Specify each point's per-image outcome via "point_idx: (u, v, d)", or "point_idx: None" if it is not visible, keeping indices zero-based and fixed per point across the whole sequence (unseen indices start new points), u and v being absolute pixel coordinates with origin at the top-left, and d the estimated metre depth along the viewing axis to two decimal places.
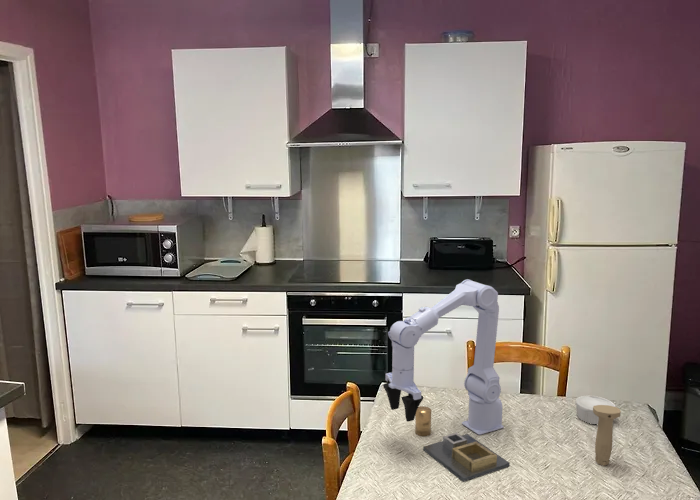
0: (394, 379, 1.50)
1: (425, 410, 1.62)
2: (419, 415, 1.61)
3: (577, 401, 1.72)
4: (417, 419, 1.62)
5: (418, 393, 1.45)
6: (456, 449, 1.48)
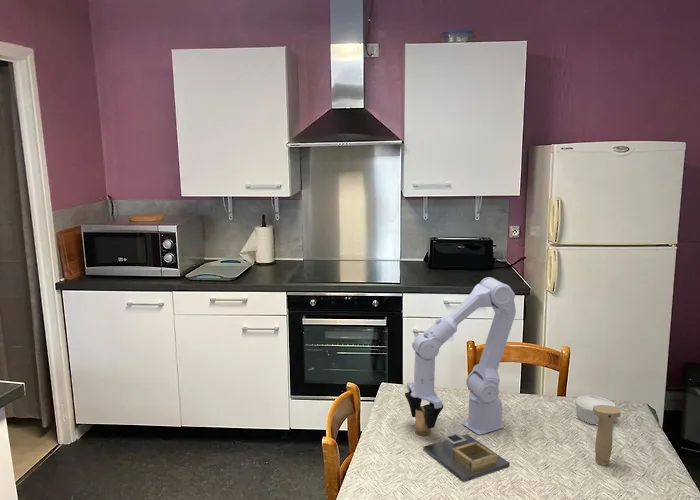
0: (416, 389, 1.60)
1: None
2: (419, 415, 1.61)
3: (577, 401, 1.72)
4: (417, 419, 1.62)
5: (439, 402, 1.55)
6: (456, 449, 1.48)
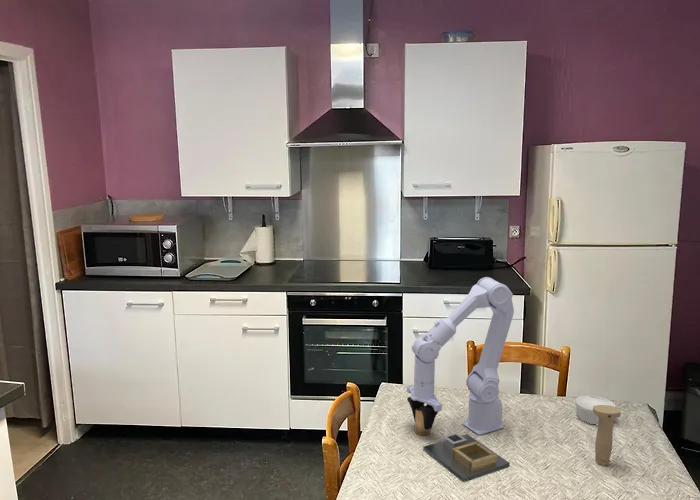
0: (416, 392, 1.60)
1: None
2: (419, 415, 1.61)
3: (577, 401, 1.72)
4: (417, 419, 1.62)
5: (439, 405, 1.55)
6: (456, 449, 1.48)
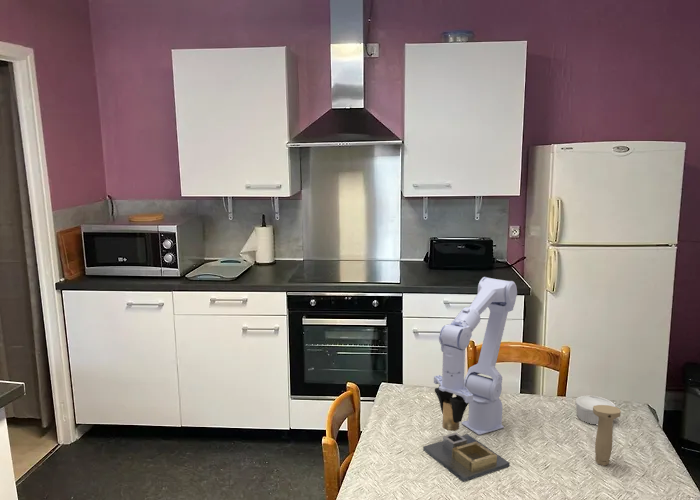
0: (445, 382, 1.49)
1: None
2: (447, 408, 1.50)
3: (577, 401, 1.72)
4: (445, 412, 1.51)
5: (470, 396, 1.45)
6: (456, 449, 1.48)
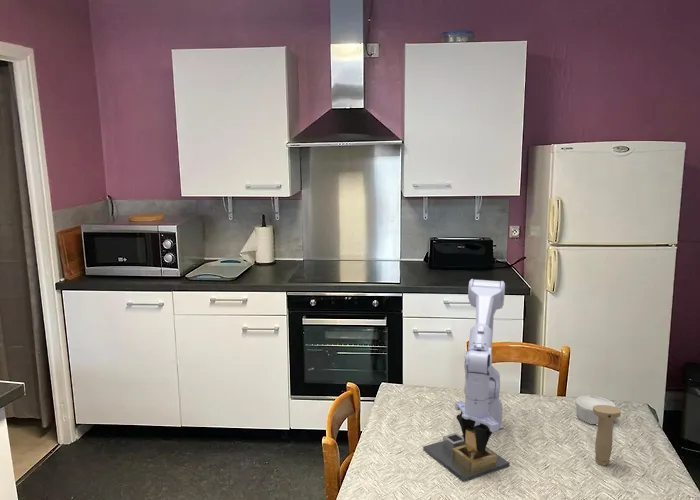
0: (468, 410, 1.43)
1: None
2: (471, 436, 1.44)
3: (577, 401, 1.72)
4: (468, 441, 1.45)
5: (495, 425, 1.38)
6: (456, 449, 1.48)
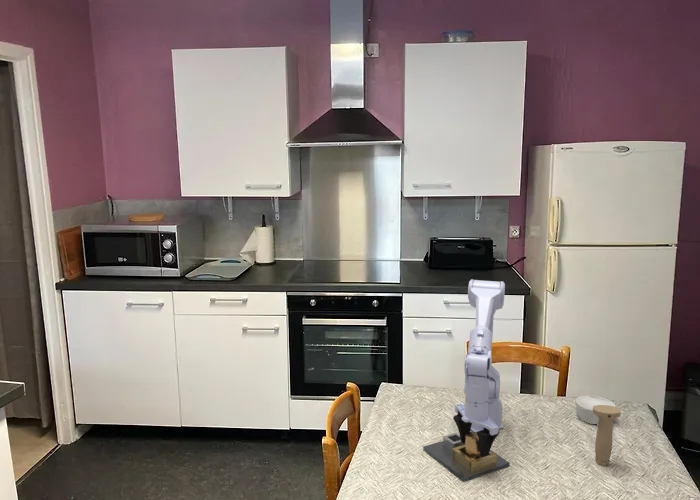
0: (468, 413, 1.43)
1: (477, 436, 1.45)
2: (470, 442, 1.44)
3: (577, 401, 1.72)
4: (468, 446, 1.45)
5: (495, 428, 1.39)
6: (456, 449, 1.48)
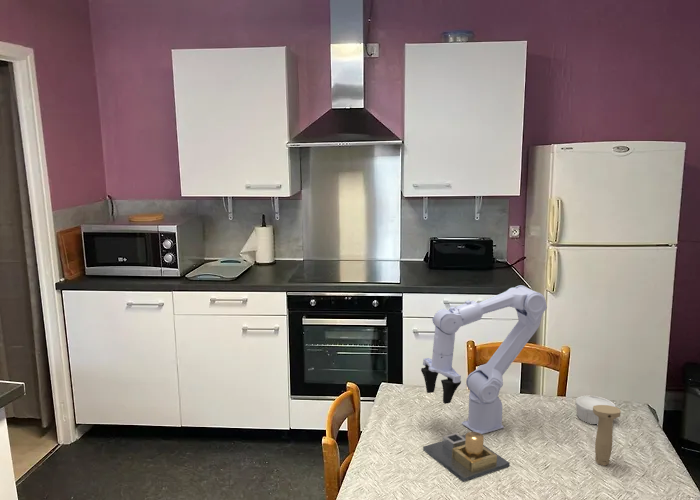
0: (434, 363, 1.59)
1: (477, 436, 1.45)
2: (470, 442, 1.44)
3: (577, 401, 1.72)
4: (468, 446, 1.45)
5: (458, 377, 1.55)
6: (456, 449, 1.48)
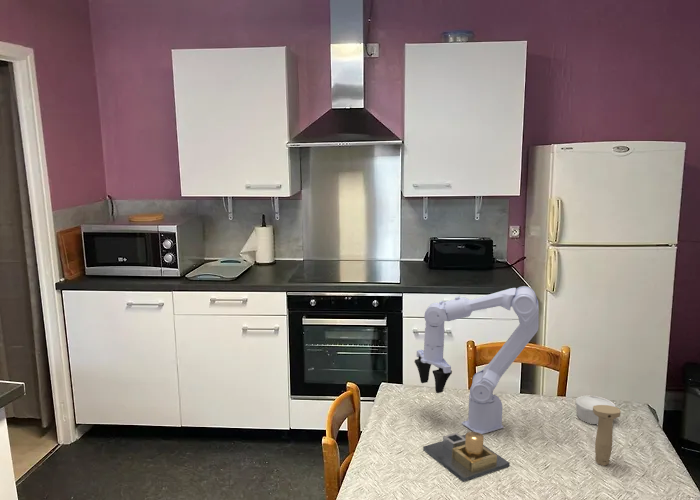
0: (426, 355, 1.66)
1: (477, 436, 1.45)
2: (470, 442, 1.44)
3: (577, 401, 1.72)
4: (468, 446, 1.45)
5: (448, 367, 1.62)
6: (456, 449, 1.48)
